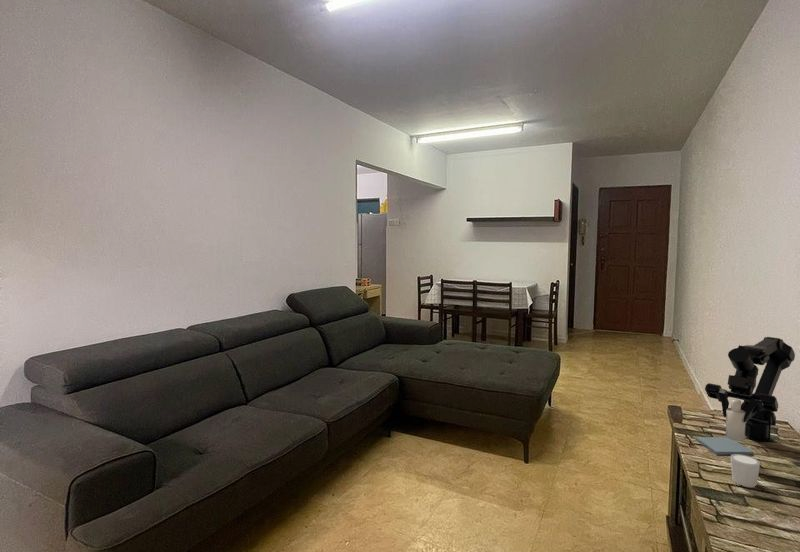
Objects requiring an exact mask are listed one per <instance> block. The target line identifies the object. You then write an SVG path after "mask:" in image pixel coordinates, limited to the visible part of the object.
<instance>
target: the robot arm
mask: <svg viewBox="0 0 800 552" xmlns="http://www.w3.org/2000/svg"><path fill="white" fill-rule="evenodd" d="M727 353H728V354H727V356H728V359H729V360H730V362H731V365H732V367H733V368H734V369H735V372H734V375H732V374H729V375H728V379H727V385H728V389H729V390H726V389H725V388H722V386H721V385H720V384H716V383H715V384H714V383H710V382H708V383H707V384H706V385H705V387H704V390H705V392H706V395H707V397H709V398H710V399H715V400H717V401H718V402H720V403H721V408H722V416H723V418H726V409H727V408H729V406H730V402H729V399H728V398H731V399H736V400H740V401H741V400H742V402H741V410H743V411H745V412H746V414H745V416H744V422H745V437H747V438H749V439H751V440H752V441H755V442H775V439H773V438H771V427H775V426H776V425H777V417H776V414H775V413H777V412H778V410H779V403H778V399H777V397H776V396H775V395H773V394H774V391H775V388H776V386H777V383H778V381H779V378H780V376H781V373H782V371H783V370H786V369H787V368H789V367H790V366H791V364H792V363H793V362H794V361H795V359H796V355H795V354H796V353H795V351H794V349H793V347H792V346H791V345H789V344H787V343H785V342H784V340H783V339H782V338H779V337H773V336H771V337H770V336H765V337H764V338H763V339H762V340H761V341H759V342H757V343H755V344H753V345H752V344H751V345H750V344H747V345H740V344H739V345H738V347H735V348H733V349H731V350H729V351H728V352H727ZM757 365H758V366H764V368H763V371H762V373H761V377H760V378H759V381H758V383H757V377H758V375H759V371H760V370H759V368H758V366H757Z"/></svg>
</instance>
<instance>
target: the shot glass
mask: <svg viewBox="0 0 800 552" xmlns="http://www.w3.org/2000/svg"><path fill="white" fill-rule="evenodd" d="M730 466H731V467H730V468H731V478H732V481H733V482H734V483H735V484H737V485H739V486H741V485H742V487H745V488H756V487H757V486H756V485H757V484H758V478H759V472H760V466H761V462H760V461H759V460H758V459H756V458H755V457H752V456H751V455H741V454H733V455H730ZM755 486H756V487H755Z"/></svg>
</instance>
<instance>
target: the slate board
mask: <svg viewBox="0 0 800 552" xmlns="http://www.w3.org/2000/svg"><path fill="white" fill-rule="evenodd" d="M695 441H696V442H698V443H699V444H701V446H703V447H704V448H706V449H707V450H708V451H710V452H712V453H713V454H715V455H716V456H717V455H718V456H719V455H722V456H725V455H729V456H731V455H733V454H741V455H745V454H748V455H747V456H750V455H749V454H753V455H754V451H753V450H752V449H749V448H748V447H746V446H745V445H743V444H742V443H739V441H735V440H732V439H729V438H727V437H726V436H723V437H722V436H721V437H720V436H719V437H718V436H716V437H712V436H707V437H706V436H704V437H703V436H701V437H700V436H696V437H695ZM753 455H752V456H753Z"/></svg>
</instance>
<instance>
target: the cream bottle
mask: <svg viewBox="0 0 800 552" xmlns="http://www.w3.org/2000/svg"><path fill="white" fill-rule="evenodd" d="M741 404H742V401H741V399H736V398H731V399H730V407H728V408H727V409H726V417H725V437H727V438H729V439H732V440H735V441H737V442H743V441H745V440H746V436H745V424H746V422H744V416H745V414H746V412H745V411H743V410H741Z"/></svg>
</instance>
